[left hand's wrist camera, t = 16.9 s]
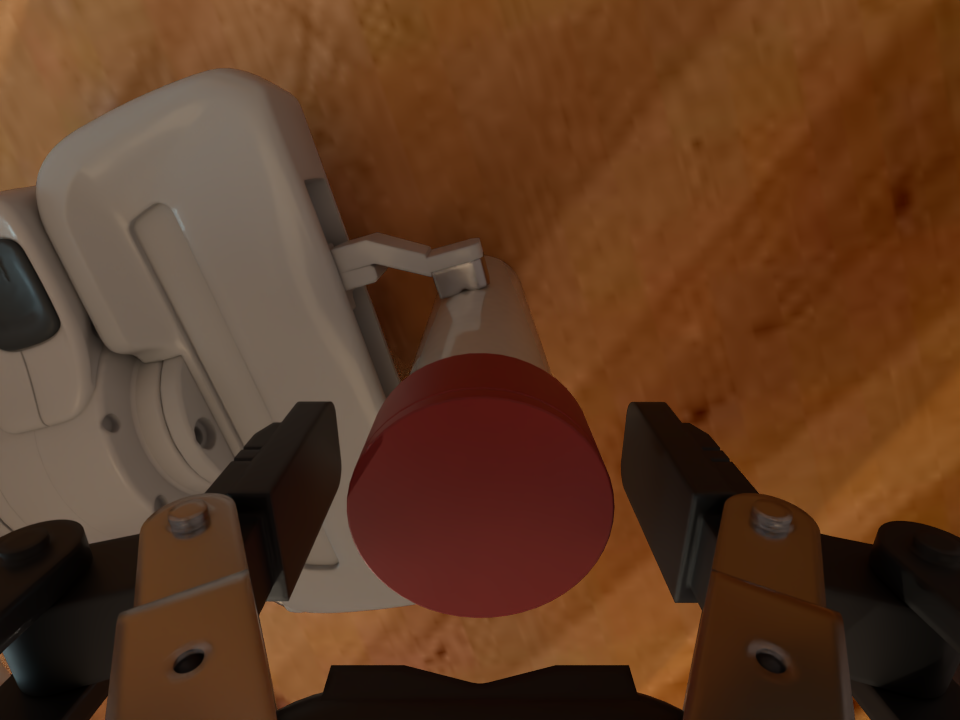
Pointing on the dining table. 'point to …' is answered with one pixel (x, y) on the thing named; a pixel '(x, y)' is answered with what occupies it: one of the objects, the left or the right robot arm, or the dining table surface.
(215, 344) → the right robot arm
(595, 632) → the dining table surface
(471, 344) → the bottle
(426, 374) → the lid
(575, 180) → the dining table surface
